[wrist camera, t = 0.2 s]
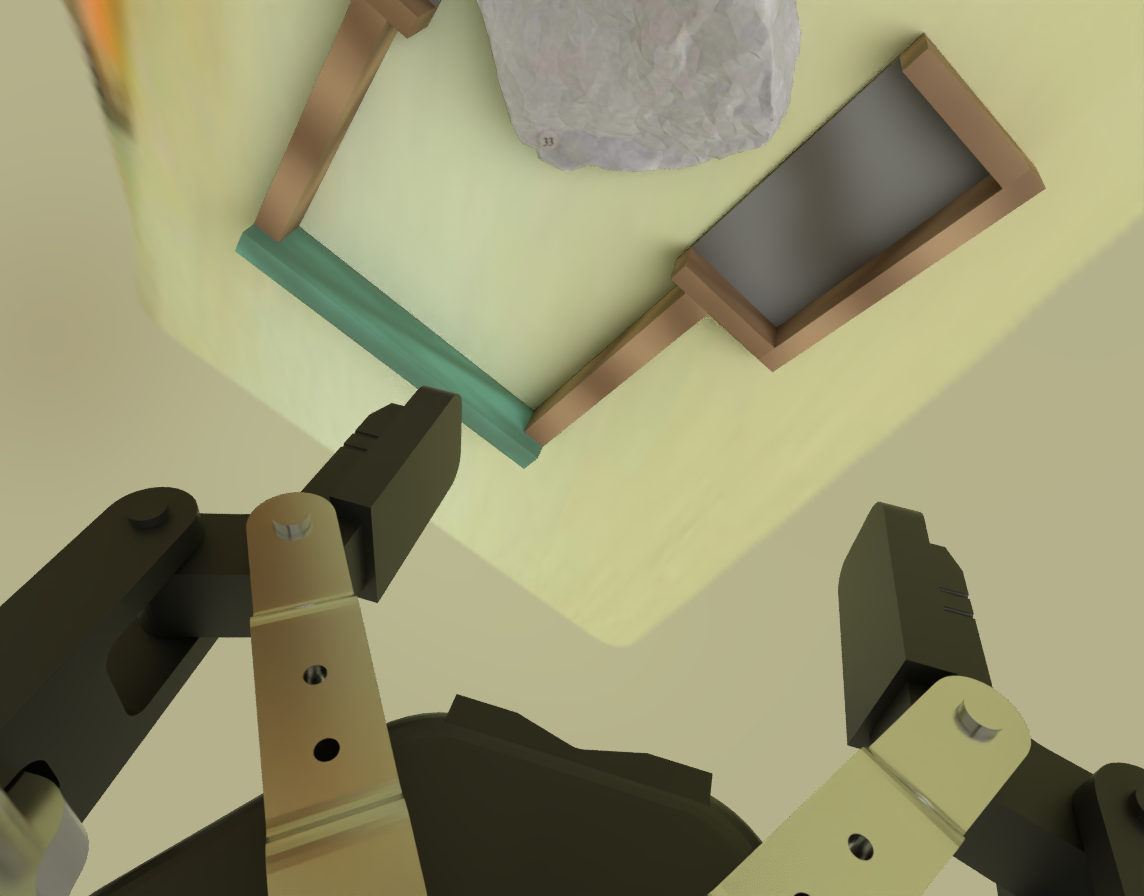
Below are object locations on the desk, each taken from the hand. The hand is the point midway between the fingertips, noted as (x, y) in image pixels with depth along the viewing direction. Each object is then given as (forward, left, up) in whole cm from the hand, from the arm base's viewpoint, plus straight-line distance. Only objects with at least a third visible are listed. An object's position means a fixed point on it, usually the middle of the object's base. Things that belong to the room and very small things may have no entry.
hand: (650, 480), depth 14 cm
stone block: (+1, -5, -23) cm, 23 cm away
